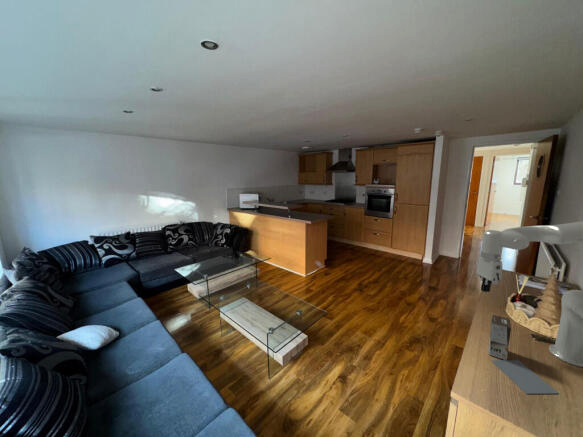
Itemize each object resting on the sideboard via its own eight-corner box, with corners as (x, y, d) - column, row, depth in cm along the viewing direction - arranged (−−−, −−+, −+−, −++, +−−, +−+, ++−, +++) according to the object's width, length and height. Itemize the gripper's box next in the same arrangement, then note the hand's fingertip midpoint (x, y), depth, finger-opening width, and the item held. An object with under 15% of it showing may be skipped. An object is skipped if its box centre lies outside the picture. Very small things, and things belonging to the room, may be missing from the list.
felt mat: (518, 360, 103) (518, 360, 103) (558, 393, 87) (558, 393, 87) (491, 360, 103) (491, 360, 103) (526, 394, 87) (526, 393, 87)
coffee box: (507, 361, 102) (511, 328, 100) (488, 354, 106) (492, 323, 104) (505, 349, 109) (509, 318, 107) (488, 343, 113) (491, 314, 111)
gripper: (513, 261, 103) (506, 298, 106) (485, 250, 118) (480, 283, 121) (496, 261, 103) (490, 298, 106) (470, 250, 118) (466, 284, 121)
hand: (485, 290), depth 114 cm, fingers closed
